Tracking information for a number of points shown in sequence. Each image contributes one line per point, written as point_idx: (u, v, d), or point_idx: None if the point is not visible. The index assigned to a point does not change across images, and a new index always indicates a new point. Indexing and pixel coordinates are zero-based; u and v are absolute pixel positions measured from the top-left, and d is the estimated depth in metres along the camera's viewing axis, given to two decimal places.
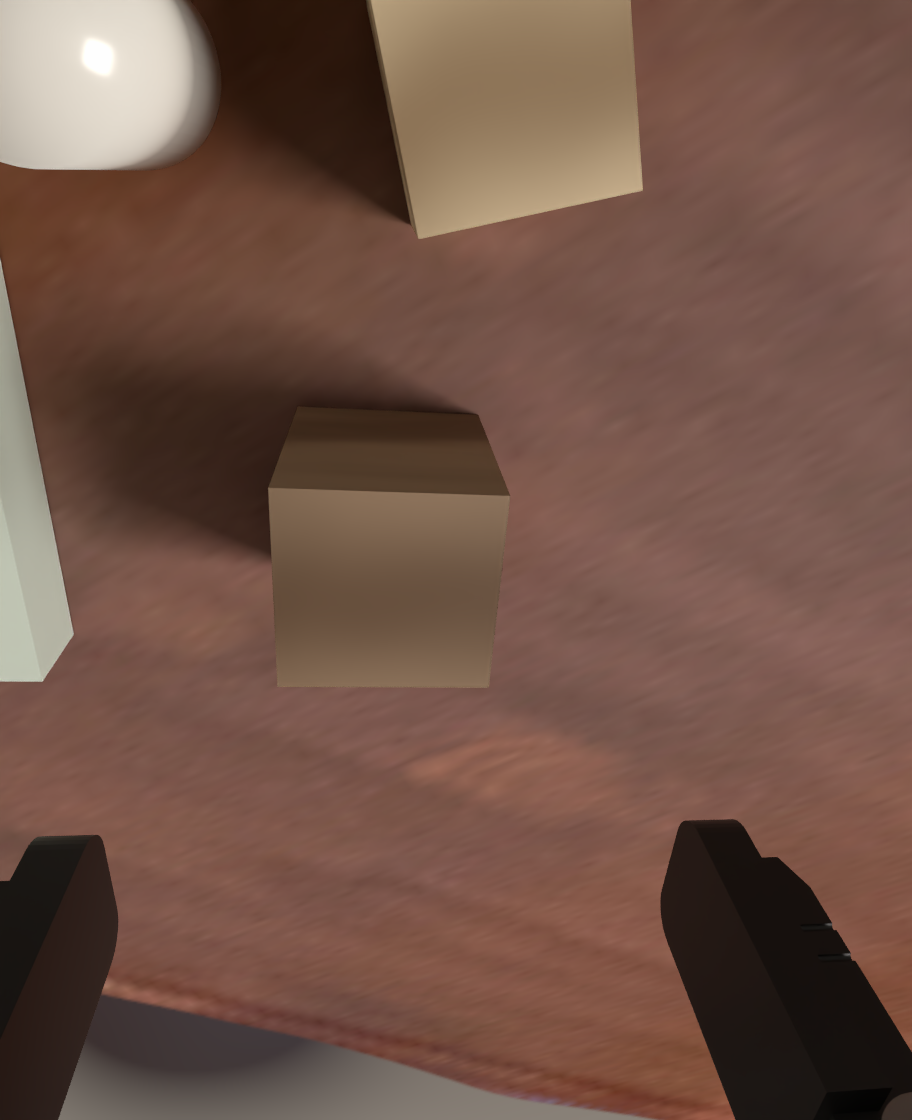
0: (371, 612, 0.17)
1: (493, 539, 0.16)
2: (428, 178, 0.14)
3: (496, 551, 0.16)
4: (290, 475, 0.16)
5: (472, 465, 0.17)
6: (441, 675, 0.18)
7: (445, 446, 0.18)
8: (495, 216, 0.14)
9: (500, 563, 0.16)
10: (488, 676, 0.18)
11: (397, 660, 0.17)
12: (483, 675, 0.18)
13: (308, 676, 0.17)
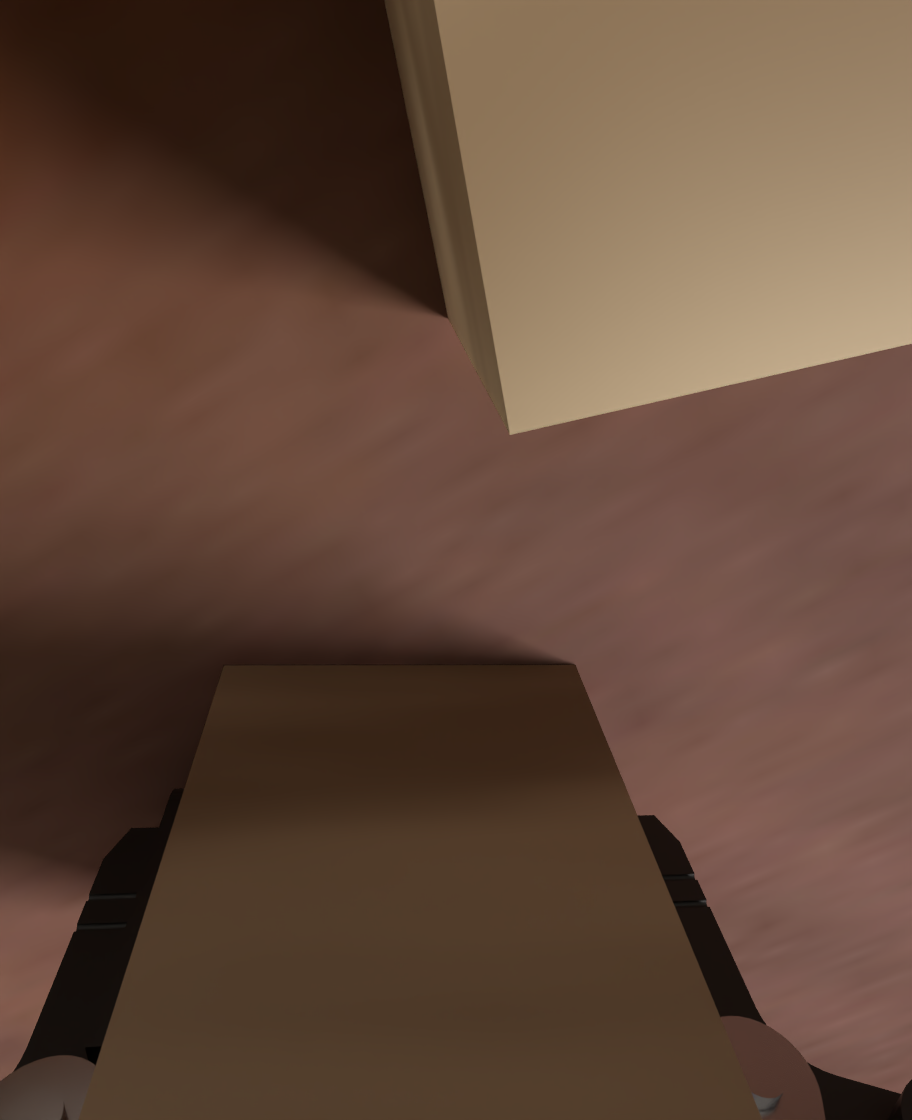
0: None
1: None
2: (553, 245, 0.04)
3: None
4: (145, 1064, 0.06)
5: (617, 917, 0.07)
6: None
7: (536, 816, 0.08)
8: (760, 362, 0.04)
9: None
10: None
11: None
12: None
13: None
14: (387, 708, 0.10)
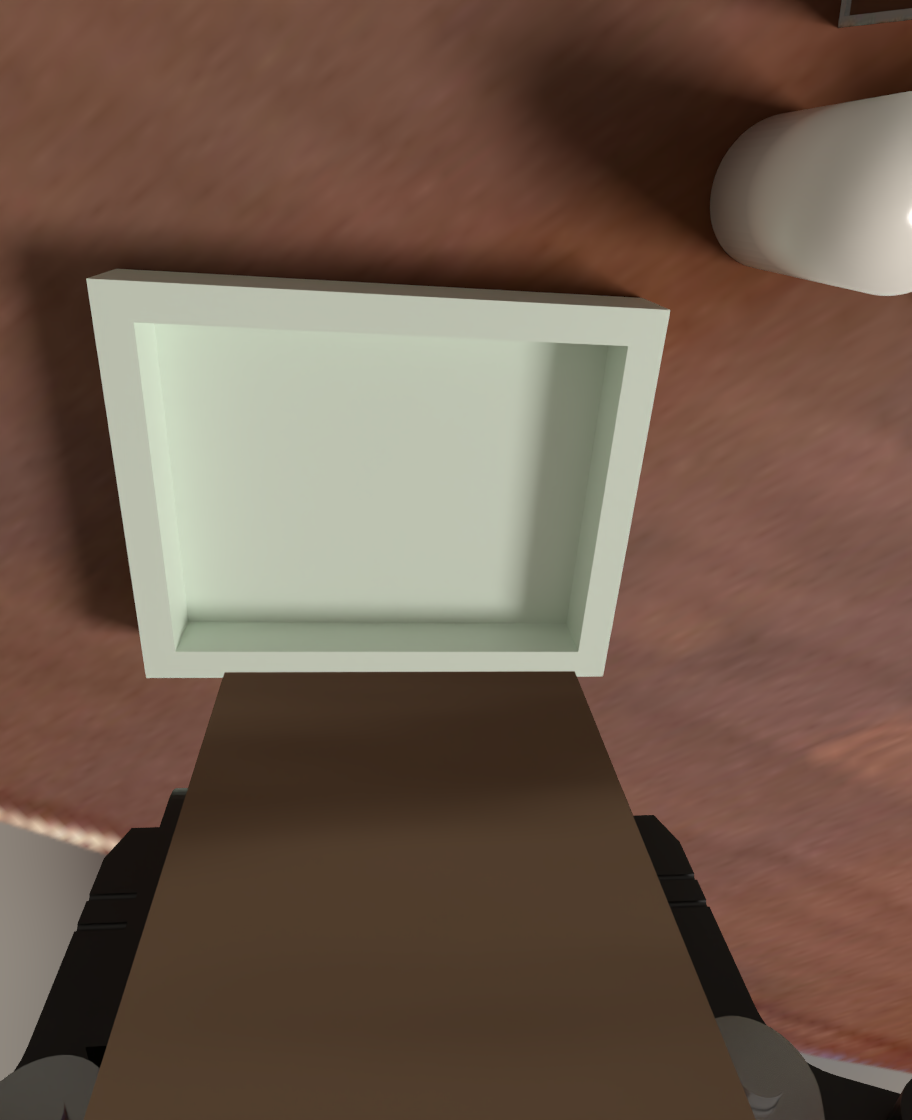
0: None
1: None
2: None
3: None
4: (147, 1073, 0.06)
5: (616, 924, 0.07)
6: None
7: (535, 825, 0.08)
8: None
9: None
10: None
11: None
12: None
13: None
14: (387, 715, 0.10)
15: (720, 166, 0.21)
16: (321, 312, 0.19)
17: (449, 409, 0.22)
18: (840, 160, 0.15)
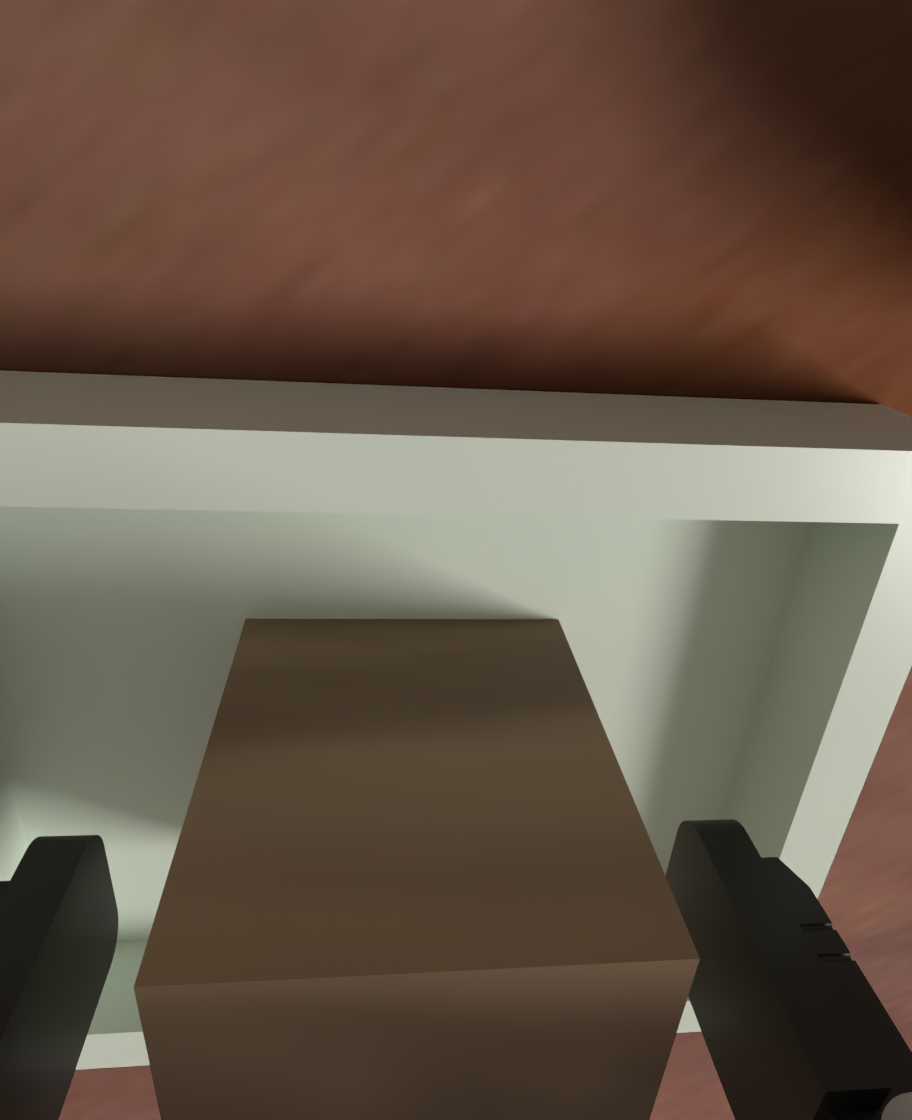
0: None
1: (653, 1028, 0.07)
2: None
3: (657, 1047, 0.07)
4: (197, 911, 0.07)
5: (586, 812, 0.08)
6: None
7: (520, 738, 0.09)
8: None
9: (662, 1060, 0.08)
10: None
11: None
12: None
13: None
14: (391, 653, 0.11)
15: None
16: (257, 473, 0.09)
17: (516, 610, 0.12)
18: None
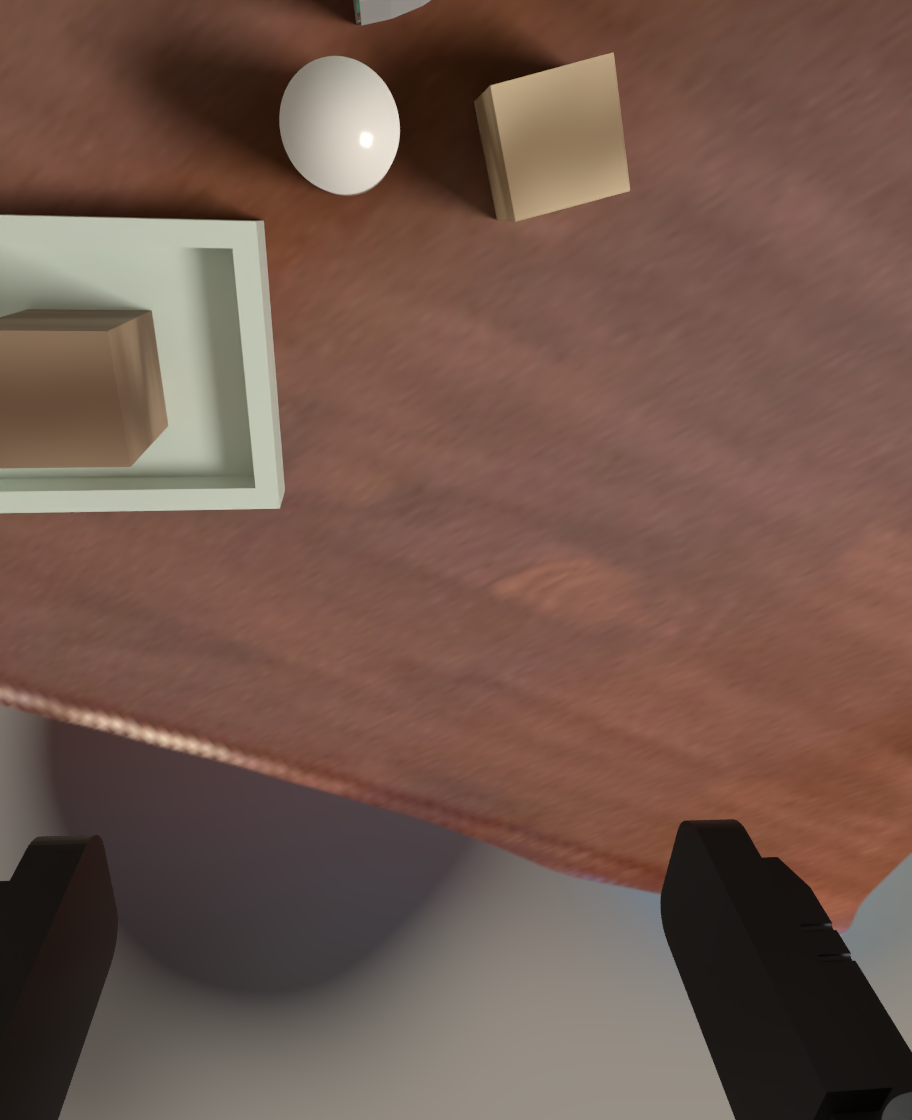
0: (40, 413, 0.27)
1: (105, 360, 0.27)
2: (521, 189, 0.28)
3: (108, 368, 0.27)
4: None
5: (105, 324, 0.28)
6: (96, 458, 0.28)
7: (101, 319, 0.29)
8: (555, 207, 0.28)
9: (114, 377, 0.27)
10: (128, 458, 0.28)
11: (65, 448, 0.28)
12: (124, 457, 0.28)
13: (10, 460, 0.28)
14: (75, 312, 0.30)
15: None
16: (7, 230, 0.28)
17: (133, 306, 0.31)
18: (283, 104, 0.24)
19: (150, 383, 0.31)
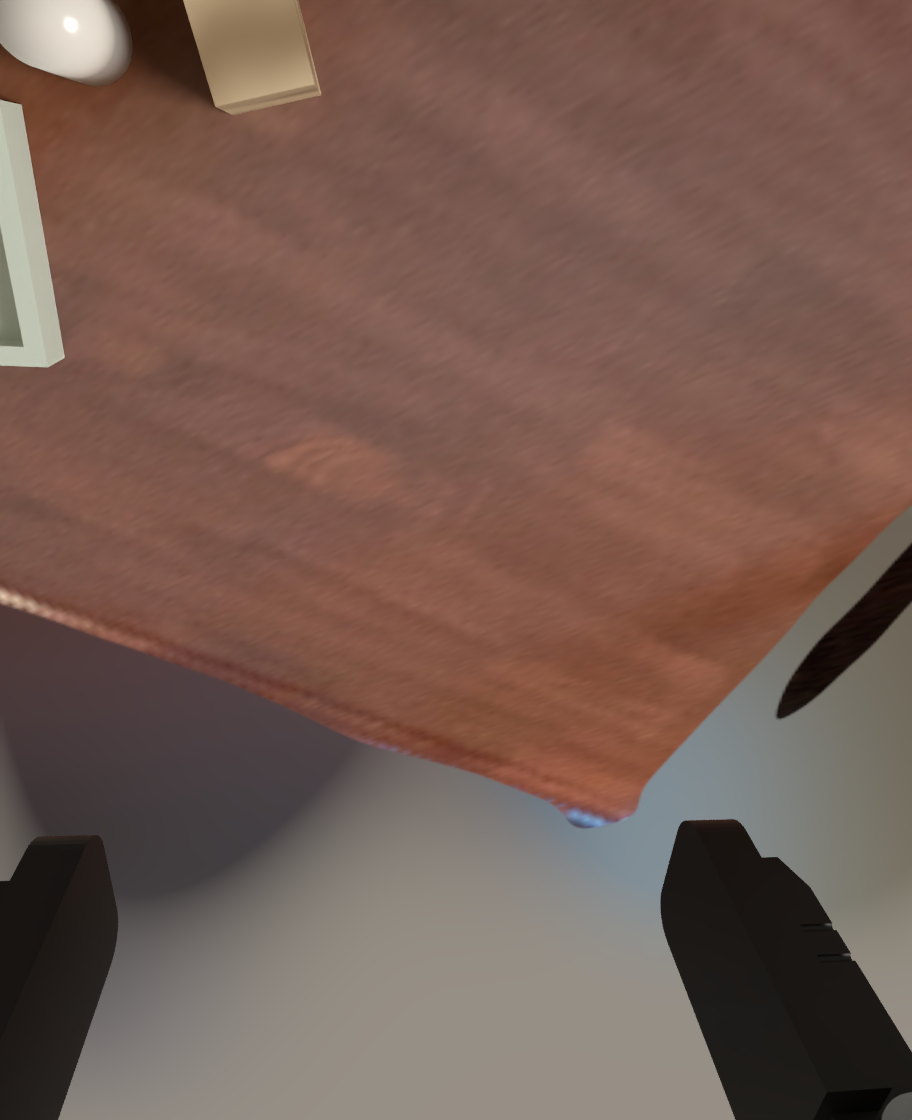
0: None
1: None
2: (216, 78, 0.32)
3: None
4: None
5: None
6: None
7: None
8: (248, 96, 0.33)
9: None
10: None
11: None
12: None
13: None
14: None
15: None
16: None
17: None
18: None
19: None
